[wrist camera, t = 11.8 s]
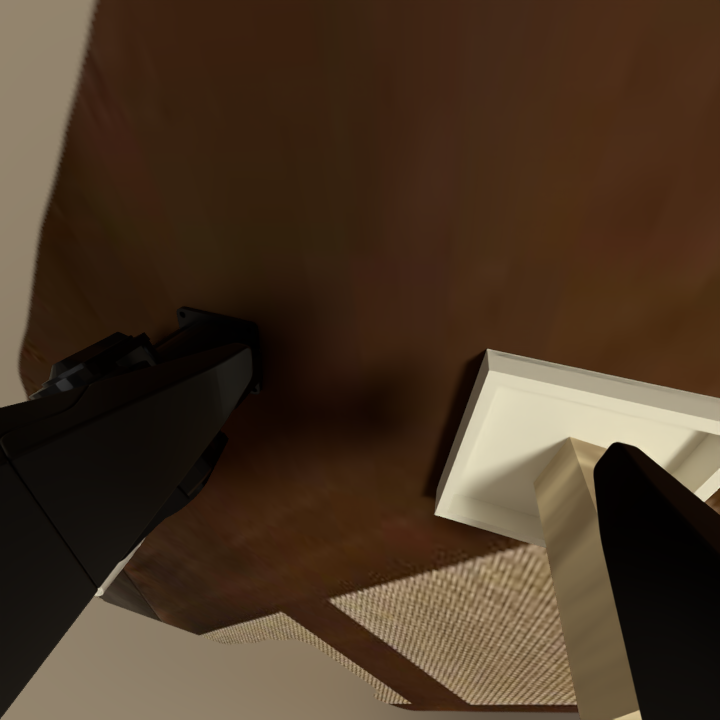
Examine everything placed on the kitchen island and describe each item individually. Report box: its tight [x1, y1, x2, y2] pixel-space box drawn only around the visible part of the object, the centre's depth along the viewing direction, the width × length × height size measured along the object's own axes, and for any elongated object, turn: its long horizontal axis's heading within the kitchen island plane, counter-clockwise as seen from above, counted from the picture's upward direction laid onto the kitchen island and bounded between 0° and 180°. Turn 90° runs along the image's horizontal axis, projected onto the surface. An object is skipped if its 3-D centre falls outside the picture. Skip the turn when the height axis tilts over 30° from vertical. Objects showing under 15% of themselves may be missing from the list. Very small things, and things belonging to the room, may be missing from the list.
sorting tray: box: [435, 349, 720, 548], centre depth 23 cm, size 14×14×2 cm
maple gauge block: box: [533, 437, 642, 720], centre depth 18 cm, size 5×5×13 cm
